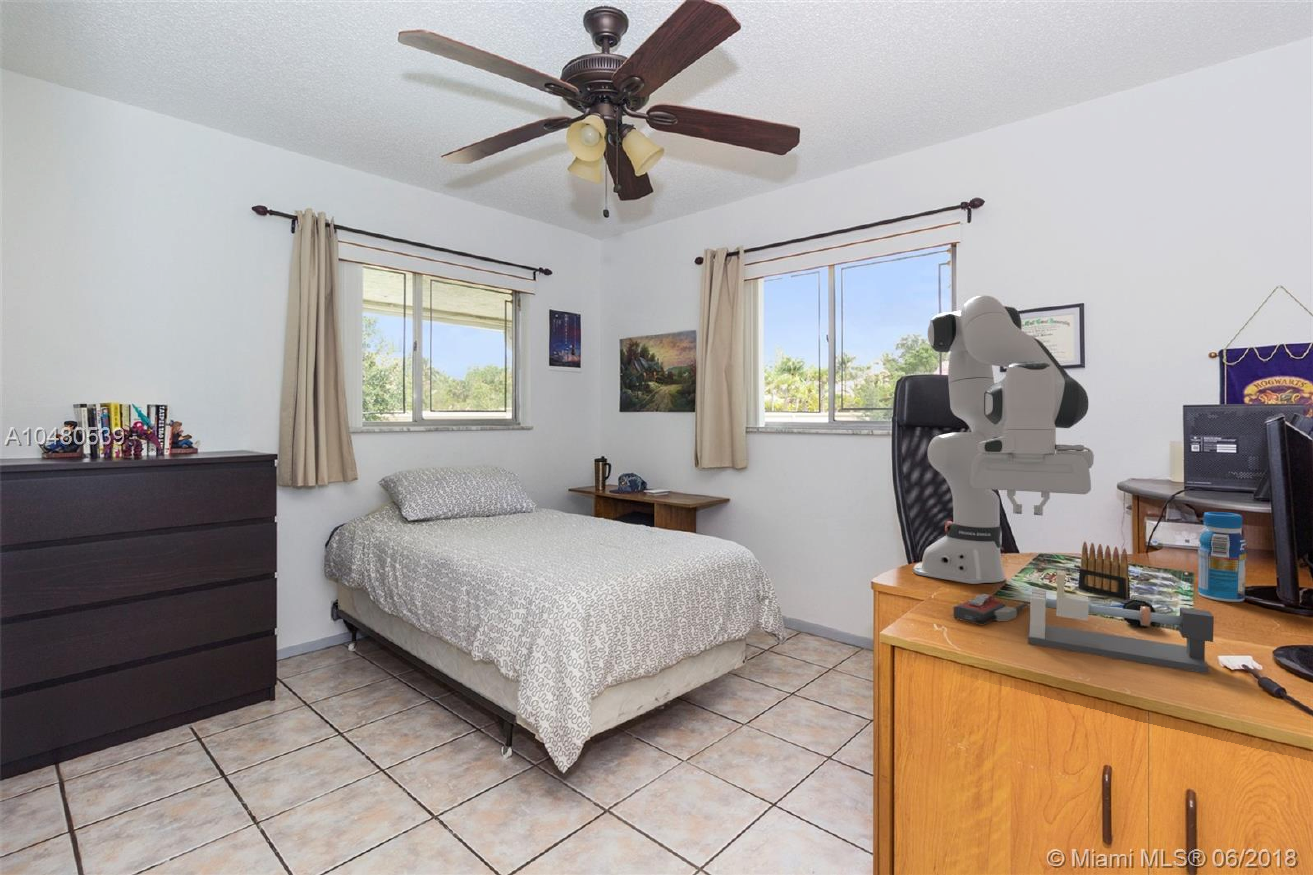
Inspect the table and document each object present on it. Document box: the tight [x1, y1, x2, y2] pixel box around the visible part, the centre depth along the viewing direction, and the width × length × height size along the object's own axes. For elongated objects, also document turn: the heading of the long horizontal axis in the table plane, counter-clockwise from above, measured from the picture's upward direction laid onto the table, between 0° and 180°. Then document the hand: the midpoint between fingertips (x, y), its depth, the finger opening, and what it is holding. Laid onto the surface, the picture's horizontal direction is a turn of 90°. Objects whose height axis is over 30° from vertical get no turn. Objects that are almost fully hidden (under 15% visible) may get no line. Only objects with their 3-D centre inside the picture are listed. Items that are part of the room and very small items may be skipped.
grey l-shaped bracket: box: [1056, 569, 1090, 621], centre depth 117 cm, size 5×4×8 cm
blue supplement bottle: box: [1197, 511, 1247, 603], centre depth 145 cm, size 8×8×20 cm
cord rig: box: [1027, 587, 1215, 675], centre depth 114 cm, size 27×10×9 cm, turn 57°
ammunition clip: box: [1078, 541, 1131, 600], centre depth 150 cm, size 11×2×12 cm, turn 26°
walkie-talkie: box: [953, 593, 1029, 625], centre depth 135 cm, size 9×4×20 cm
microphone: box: [1121, 599, 1156, 628], centre depth 132 cm, size 6×6×20 cm
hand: (1027, 514), depth 121 cm, fingers open, 2 cm apart
